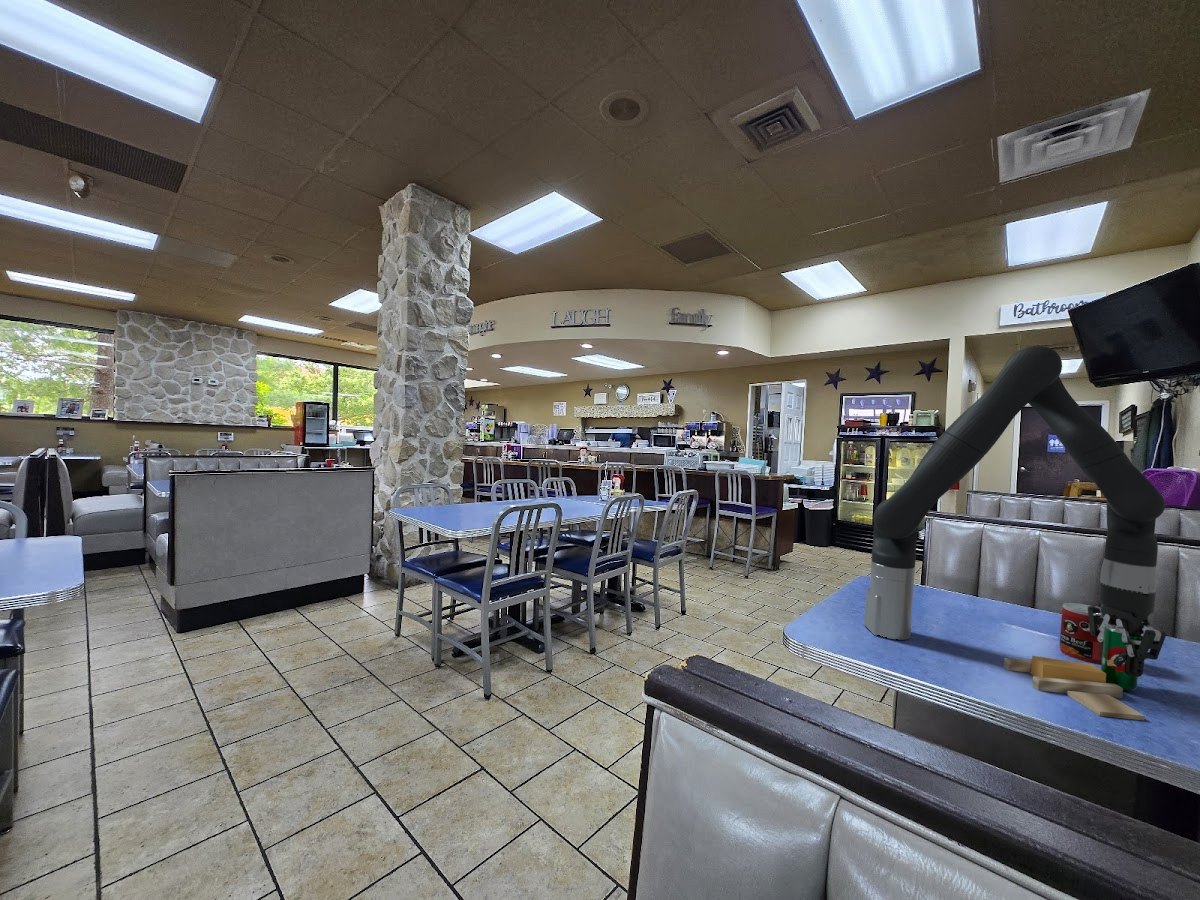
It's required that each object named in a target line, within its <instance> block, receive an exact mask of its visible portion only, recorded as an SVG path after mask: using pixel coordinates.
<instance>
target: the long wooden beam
mask: <svg viewBox="0 0 1200 900" xmlns="http://www.w3.org/2000/svg"><path fill="white" fill-rule="evenodd" d="M1031 660H1032V666H1031V672H1030V674H1031V675H1032V677H1033V676H1034V677H1045V678H1056V679H1066V680H1077V681H1088V682H1099V683H1105V682H1106V673H1105V672H1103V671H1102V670H1101V668H1098V666H1095V664H1092V663H1087V662H1080V661H1079V662H1078V661H1074V660H1073V661H1072V660H1071V661H1070V660H1065V659H1060V658H1059V659H1058V658H1050V657H1044V656H1036V655H1032V656H1031Z"/></svg>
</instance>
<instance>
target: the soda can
mask: <svg viewBox="0 0 1200 900" xmlns="http://www.w3.org/2000/svg"><path fill="white" fill-rule="evenodd" d="M1119 629H1120V628H1118V627H1117V626H1116V625H1115V624H1112V623H1111V624H1109V623H1108V625H1107V626H1105V627H1104V638H1103V649H1102V660H1101V663H1100V670H1102V671H1103V672H1105V673H1106V682H1105V683H1110V684H1116V685H1118V686H1120V687H1122V688H1123V691H1135V690H1136V689H1137V688H1138V681H1139V677H1135V676H1130V675H1128V674H1126V673H1125V670H1126V659H1127V656H1129V655H1128V652H1127V648H1126V645H1125V644H1124V643H1123V642H1122V634H1121V632H1120V630H1119ZM1129 637H1130V639H1131V640H1136V641H1140V639H1141V637H1140V636H1139V637H1132V636H1129ZM1134 647H1135V651H1138V645H1136V644H1135V645H1134Z"/></svg>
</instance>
